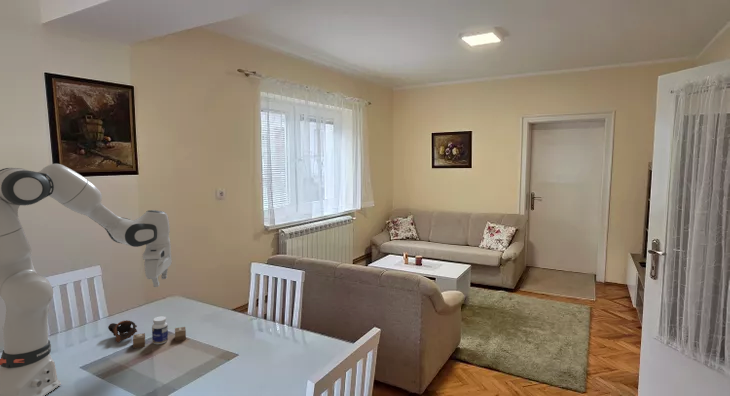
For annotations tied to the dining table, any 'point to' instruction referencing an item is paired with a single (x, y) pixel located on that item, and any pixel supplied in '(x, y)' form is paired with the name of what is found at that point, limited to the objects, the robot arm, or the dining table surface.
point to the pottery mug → (123, 330)
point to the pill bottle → (159, 330)
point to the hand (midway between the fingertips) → (160, 282)
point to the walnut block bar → (180, 333)
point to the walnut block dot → (139, 340)
